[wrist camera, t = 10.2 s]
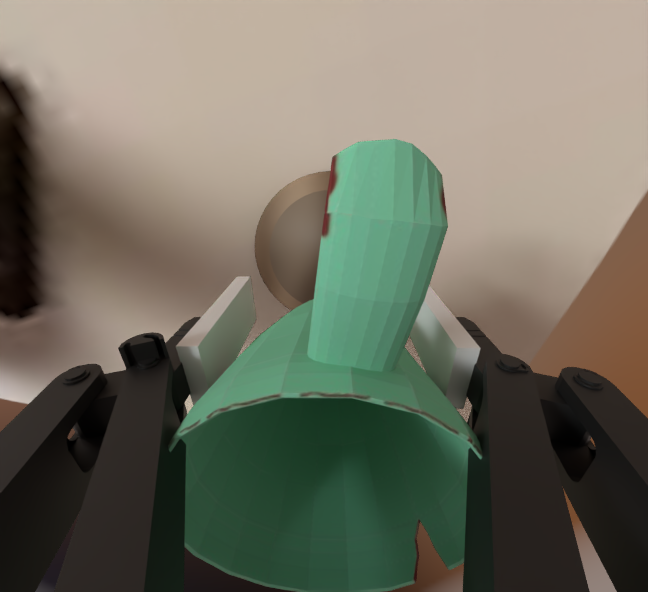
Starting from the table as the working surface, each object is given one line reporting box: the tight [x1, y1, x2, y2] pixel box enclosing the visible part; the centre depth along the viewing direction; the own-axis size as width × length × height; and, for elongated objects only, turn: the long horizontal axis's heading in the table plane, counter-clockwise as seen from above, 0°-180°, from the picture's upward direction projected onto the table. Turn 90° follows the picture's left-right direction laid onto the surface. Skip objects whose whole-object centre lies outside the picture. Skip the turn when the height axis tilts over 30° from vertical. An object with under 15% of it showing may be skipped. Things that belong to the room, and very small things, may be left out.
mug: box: [168, 139, 483, 592], centre depth 11 cm, size 15×10×10 cm
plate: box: [255, 171, 330, 310], centre depth 23 cm, size 13×13×1 cm
